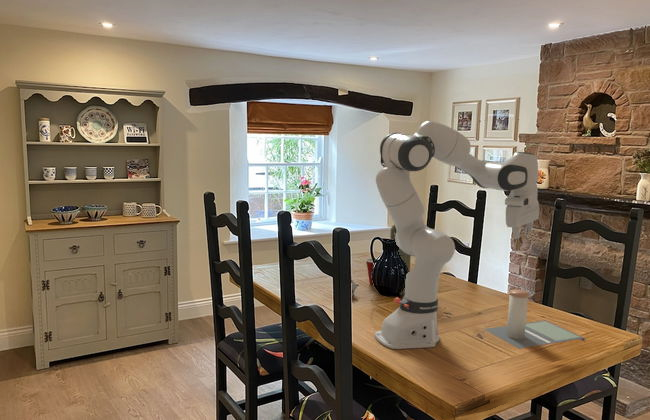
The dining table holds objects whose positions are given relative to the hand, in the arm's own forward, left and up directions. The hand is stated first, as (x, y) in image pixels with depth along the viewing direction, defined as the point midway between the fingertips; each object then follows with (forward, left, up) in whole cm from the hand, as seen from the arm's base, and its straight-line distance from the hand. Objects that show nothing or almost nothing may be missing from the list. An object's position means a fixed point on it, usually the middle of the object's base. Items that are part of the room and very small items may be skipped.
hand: (522, 235), depth 184 cm
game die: (-43, +55, -35) cm, 78 cm away
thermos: (-18, +53, -35) cm, 66 cm away
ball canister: (-6, -7, -34) cm, 35 cm away
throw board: (+2, -7, -35) cm, 36 cm away
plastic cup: (-23, +67, -35) cm, 79 cm away
